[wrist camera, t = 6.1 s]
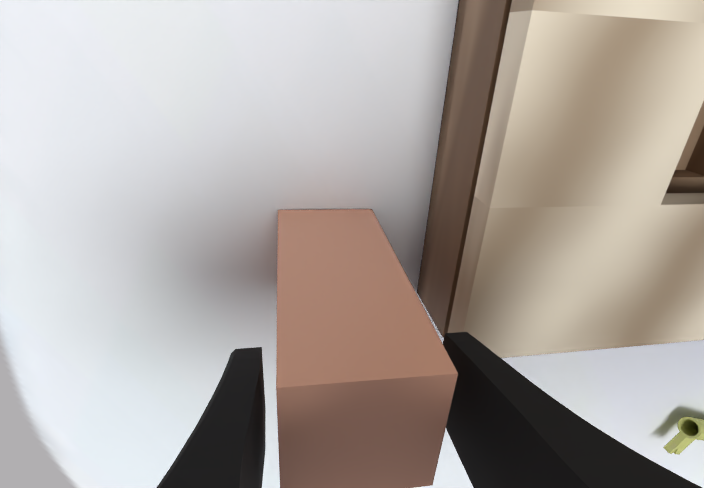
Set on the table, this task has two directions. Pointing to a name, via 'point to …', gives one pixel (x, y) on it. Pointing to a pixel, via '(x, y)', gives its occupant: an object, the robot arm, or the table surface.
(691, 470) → the table surface
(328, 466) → the terracotta rectangular block
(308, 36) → the table surface
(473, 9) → the wooden box
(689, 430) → the key
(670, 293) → the lid
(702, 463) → the table surface
